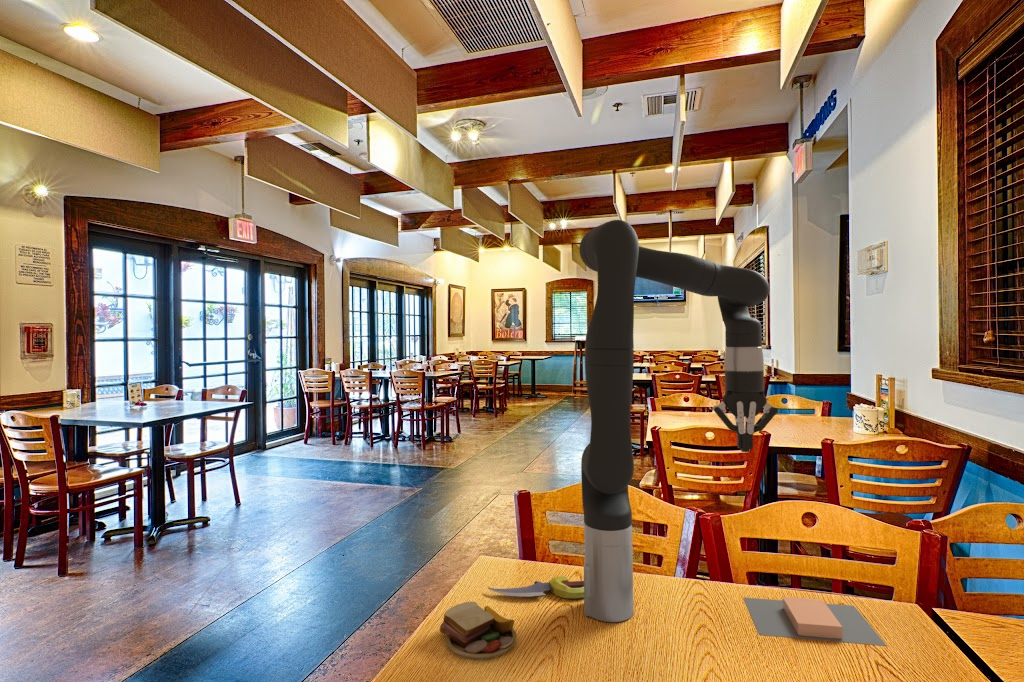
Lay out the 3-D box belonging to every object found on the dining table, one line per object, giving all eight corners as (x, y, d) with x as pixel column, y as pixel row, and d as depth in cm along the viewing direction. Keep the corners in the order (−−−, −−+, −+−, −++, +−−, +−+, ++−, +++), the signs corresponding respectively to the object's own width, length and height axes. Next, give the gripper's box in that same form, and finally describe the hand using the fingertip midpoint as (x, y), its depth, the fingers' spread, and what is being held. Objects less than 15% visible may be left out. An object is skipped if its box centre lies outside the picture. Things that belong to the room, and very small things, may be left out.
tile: (782, 608, 106) (798, 635, 96) (782, 596, 106) (798, 623, 96) (822, 611, 104) (842, 639, 94) (822, 599, 104) (842, 626, 94)
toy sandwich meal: (471, 673, 89) (470, 644, 89) (430, 638, 100) (429, 612, 100) (531, 645, 97) (530, 618, 97) (486, 615, 108) (486, 591, 107)
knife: (488, 607, 111) (610, 599, 113) (488, 594, 111) (610, 587, 113) (487, 589, 119) (601, 583, 121) (487, 577, 119) (601, 571, 121)
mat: (759, 640, 97) (759, 634, 97) (743, 602, 110) (743, 597, 110) (887, 651, 92) (887, 645, 92) (854, 610, 106) (853, 605, 106)
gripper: (713, 369, 113) (714, 454, 113) (782, 369, 110) (784, 456, 110) (708, 367, 120) (709, 447, 121) (773, 367, 118) (774, 448, 118)
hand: (745, 451), depth 115 cm, fingers closed
